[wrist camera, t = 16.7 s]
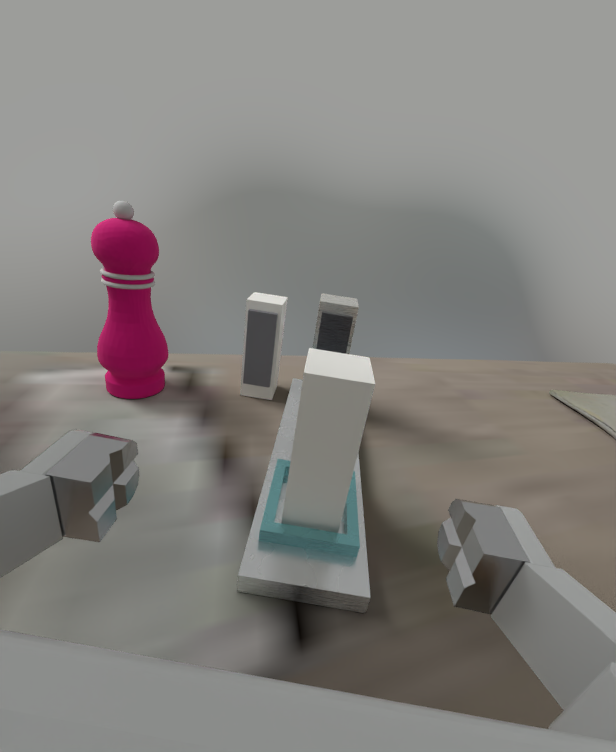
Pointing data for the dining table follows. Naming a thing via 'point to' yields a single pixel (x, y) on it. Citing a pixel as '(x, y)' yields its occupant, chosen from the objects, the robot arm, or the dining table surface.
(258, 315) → the block
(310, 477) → the tall white upright block
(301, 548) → the rail
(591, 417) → the decorative slab
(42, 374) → the dining table surface
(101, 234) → the pepper mill
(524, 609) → the robot arm
